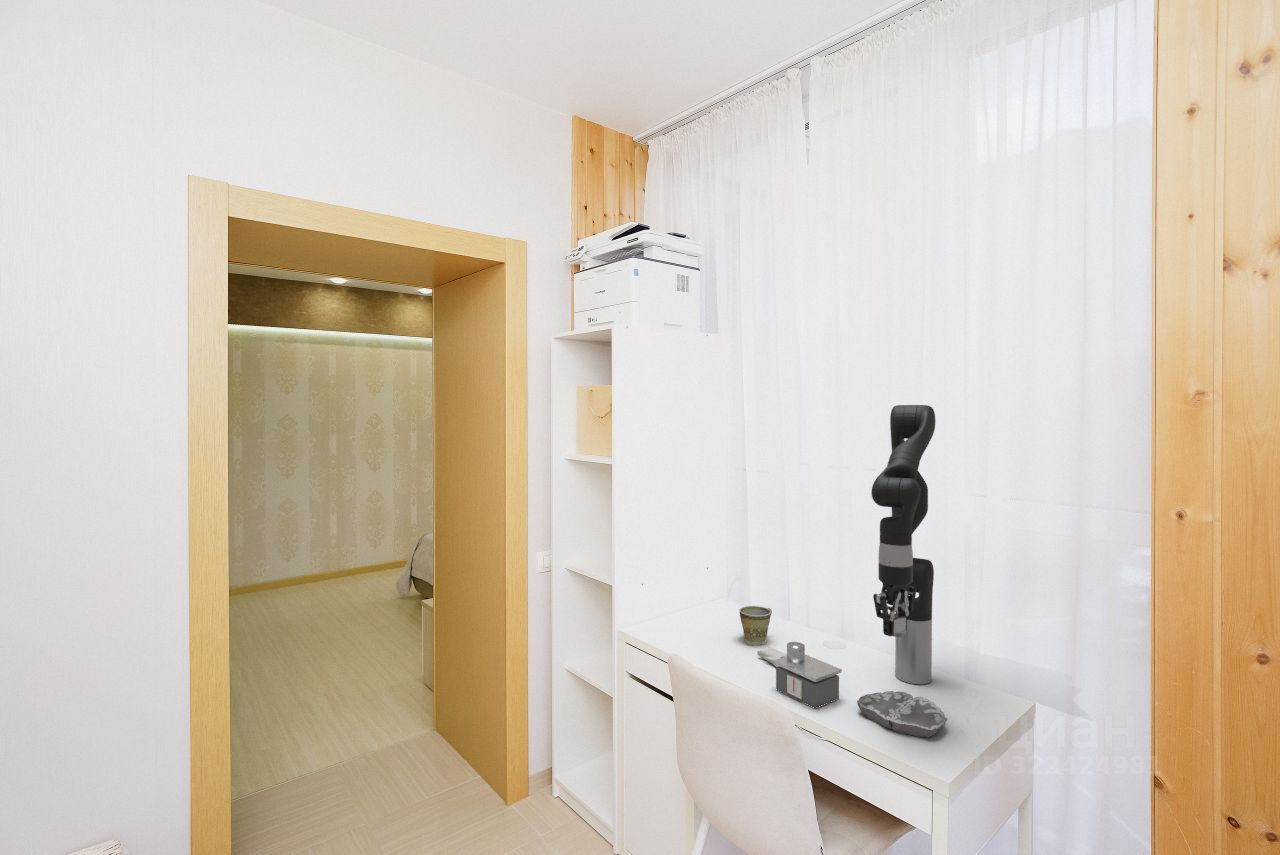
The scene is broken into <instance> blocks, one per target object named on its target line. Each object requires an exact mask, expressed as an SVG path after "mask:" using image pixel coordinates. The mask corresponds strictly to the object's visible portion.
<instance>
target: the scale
mask: <svg viewBox="0 0 1280 855" xmlns="http://www.w3.org/2000/svg"><path fill="white" fill-rule="evenodd" d="M775 687H776V688H775V690H776V689H777V690H776V691H778V690H779V691H778V692H780V691H781V692H780V693H782V692H783V693H782V694H784V693H785V694H784V695H786V694H787V695H786V696H788V695H789V696H788V697H790V696H791V698H792V697H793V698H792V699H794V698H795V699H794V700H796V699H797V700H796V701H798V700H799V701H798V702H800V701H801V702H800V703H802V702H803V704H804V703H806V704H805V705H807V704H808V705H807V706H809V705H810V706H809V707H811V706H812V707H811V708H813V707H814V708H813V709H815V708H816V707H818V708H820V707H822V706H821V705H823V706H824V704H825V705H827V704H826V703H828V704H830V703H832V702H834V700H835V701H837V700H839V699H840V675H839V674H836V675H834V676H831V677H828V678H826V679H823V680H820V681H818V682H814V681H812V680H810V679H807V678H805V677H803V676H801V675H798V674H796V673H794V672H792V671H789V670H787V669H785V668H783V667H781V666H778V667H776V666H775ZM836 699H837V700H836ZM831 701H832V702H831ZM829 702H830V703H829ZM819 706H820V707H819ZM816 709H817V708H816Z"/></svg>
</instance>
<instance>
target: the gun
mask: <svg viewBox="0 0 1280 855" xmlns="http://www.w3.org/2000/svg"><path fill="white" fill-rule="evenodd" d="M756 654H757V656H758V657H760V658H761V659H763V660H766V661H767V662H769V663H771V664H772V665H773V666H774V667H775V668H776V667H778V665H776V664H774V660H776V659H779V658H782V657H785V656H787V653H785V652H782V651H780V650H778V649H776V648H773V647H771V646H769V647H767V648H765V649H761V650H757V653H756Z"/></svg>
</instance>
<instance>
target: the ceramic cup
mask: <svg viewBox="0 0 1280 855" xmlns="http://www.w3.org/2000/svg"><path fill="white" fill-rule="evenodd" d="M738 612H739V617H740V621H741V625H742V630H743V637H744V642H745V644H748V645H750V646H762V645H764V643H765V644H766V642H767V637H768V632H769V631H768V630H769V626H770V622H771V616H772V612H773V610H772V609H771V608H770V607H768V608H767V607H764V606H761V605H760V606H759V605H758V606H757V605H747V606H746V605H745V606H742V607H740V608H739V610H738ZM761 644H762V645H761Z"/></svg>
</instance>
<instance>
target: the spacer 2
mask: <svg viewBox="0 0 1280 855" xmlns="http://www.w3.org/2000/svg"><path fill="white" fill-rule="evenodd" d="M893 621H894V634H893V636H892V637H903V636H905V635H906V617H905V616H903V615H900V614H896V613H894V619H893Z"/></svg>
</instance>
